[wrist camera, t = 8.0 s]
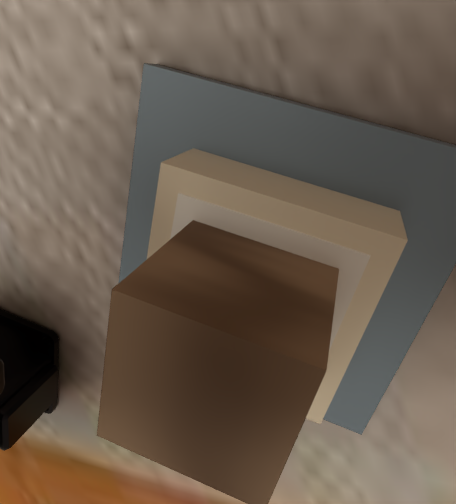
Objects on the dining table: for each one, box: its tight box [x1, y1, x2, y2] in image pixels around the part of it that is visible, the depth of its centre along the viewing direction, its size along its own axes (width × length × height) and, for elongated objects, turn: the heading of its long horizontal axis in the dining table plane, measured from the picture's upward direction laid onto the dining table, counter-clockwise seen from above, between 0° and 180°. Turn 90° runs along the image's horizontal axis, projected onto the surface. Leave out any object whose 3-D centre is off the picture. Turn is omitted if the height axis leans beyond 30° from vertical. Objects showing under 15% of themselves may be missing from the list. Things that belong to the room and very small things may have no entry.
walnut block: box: [97, 220, 339, 504], centre depth 12 cm, size 5×5×5 cm
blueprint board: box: [119, 63, 456, 434], centre depth 16 cm, size 13×13×4 cm
